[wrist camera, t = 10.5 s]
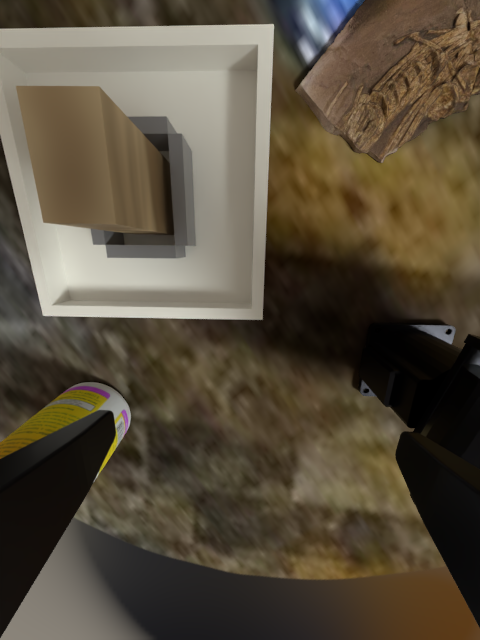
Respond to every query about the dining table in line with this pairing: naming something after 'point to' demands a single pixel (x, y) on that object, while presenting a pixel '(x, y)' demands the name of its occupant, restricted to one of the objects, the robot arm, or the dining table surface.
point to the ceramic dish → (180, 151)
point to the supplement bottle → (71, 416)
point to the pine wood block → (94, 162)
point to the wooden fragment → (396, 72)
